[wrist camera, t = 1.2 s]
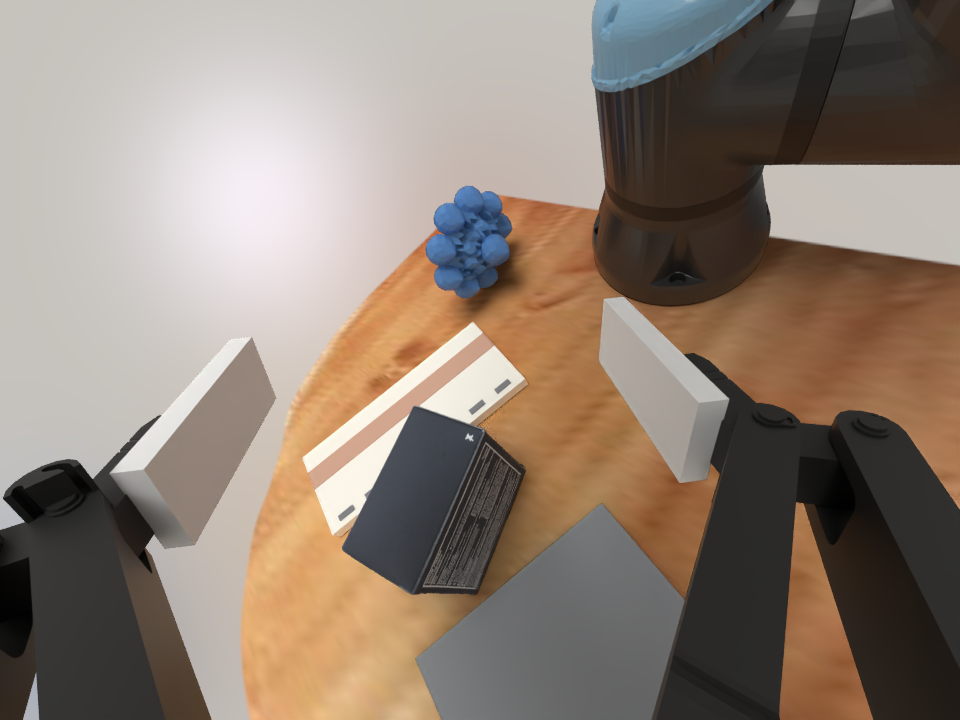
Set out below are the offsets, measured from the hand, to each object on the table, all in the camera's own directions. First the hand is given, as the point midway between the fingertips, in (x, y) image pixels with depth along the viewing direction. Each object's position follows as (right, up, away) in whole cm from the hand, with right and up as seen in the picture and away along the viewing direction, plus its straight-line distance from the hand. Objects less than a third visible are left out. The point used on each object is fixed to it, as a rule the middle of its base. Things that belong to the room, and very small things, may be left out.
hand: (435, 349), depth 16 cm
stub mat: (+8, -21, +12) cm, 26 cm away
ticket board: (-5, -7, +25) cm, 26 cm away
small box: (+1, -13, +19) cm, 24 cm away
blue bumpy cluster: (+4, +8, +30) cm, 31 cm away
